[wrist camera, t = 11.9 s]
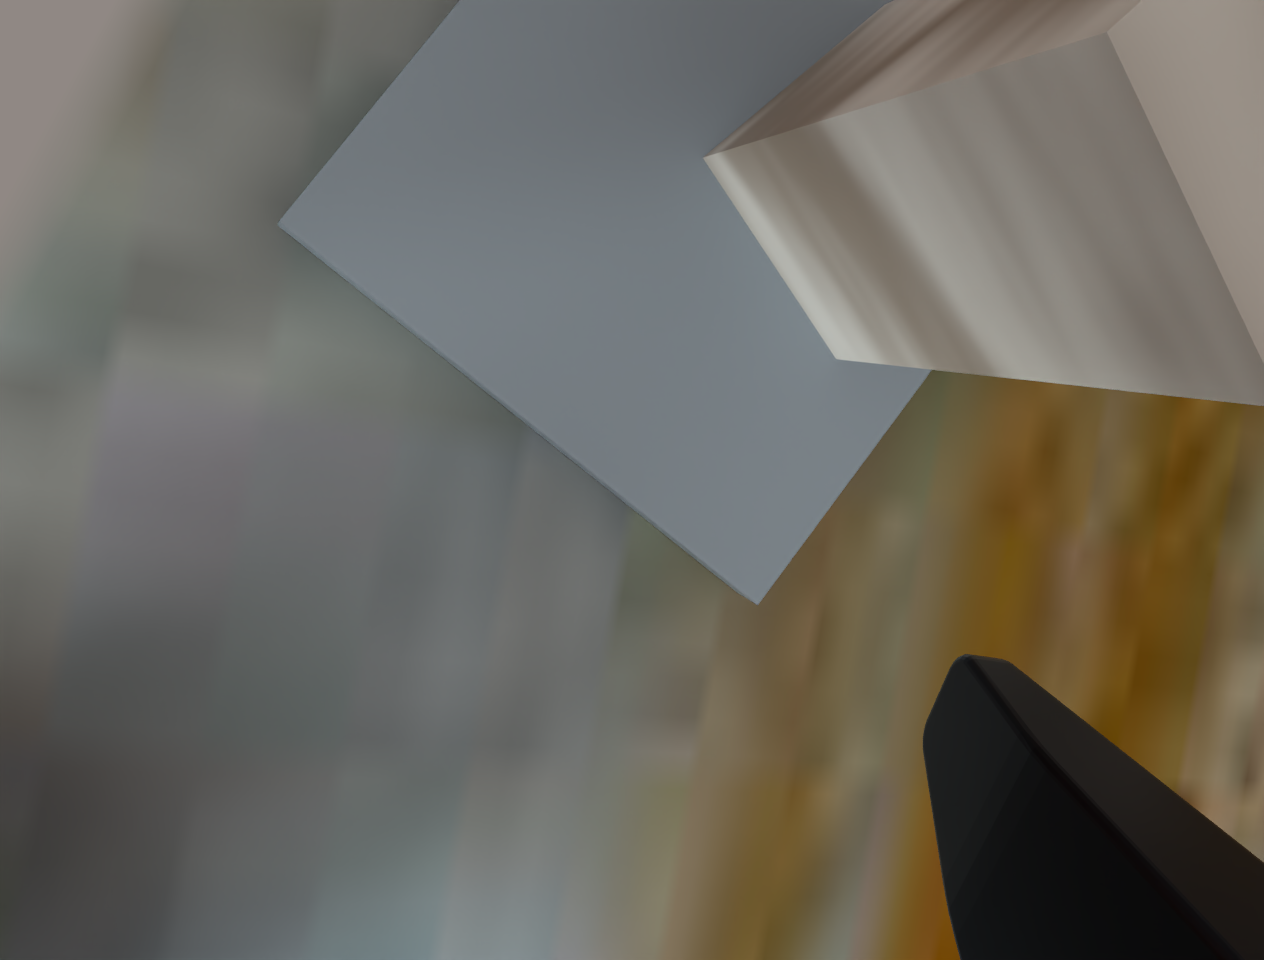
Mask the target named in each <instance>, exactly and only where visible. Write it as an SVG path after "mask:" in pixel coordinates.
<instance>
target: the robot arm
mask: <svg viewBox="0 0 1264 960" xmlns="http://www.w3.org/2000/svg"><path fill="white" fill-rule="evenodd" d="M923 753H924V760H925V766H926V773H927V780H928V786H929V793H930V799H931V806H932V812H933V819H934V826H935V832H936V839H937V845H938V852H939V859H940V865H941V872H942V878H943V885H944V890H945V896H946V901H947V906H948V912H949V916H950V920H951V924H952V928H953V932H954V937H955V940H956V944H957V948H958V952H959V956H960V959H961V960H1264V862H1262V861H1261V860H1260V859H1259V858H1257V857H1256V856H1255V855H1253V854H1252V853H1251V852H1250V851H1248V850H1247V849H1246V848H1245V847H1243V846H1242V845H1241V844H1240V843H1238V842H1237V841H1236V840H1234V839H1233V838H1232V837H1231V836H1229V835H1228V834H1227V833H1226V832H1224V831H1223V830H1222V829H1221V828H1219V827H1218V826H1217V825H1215V824H1214V823H1213V822H1212V821H1210V820H1209V819H1208V818H1207V817H1205V816H1204V815H1203V814H1202V813H1200V812H1199V811H1198V810H1196V809H1195V808H1194V807H1193V806H1191V805H1190V804H1189V803H1188V802H1186V801H1185V800H1184V799H1183V798H1181V797H1180V796H1179V795H1177V794H1176V793H1175V792H1174V791H1172V790H1171V789H1170V788H1169V787H1167V786H1166V785H1165V784H1164V783H1162V782H1161V781H1160V780H1158V779H1157V778H1156V777H1155V776H1153V775H1152V774H1151V773H1150V772H1148V771H1147V770H1146V769H1145V768H1143V767H1142V766H1141V765H1139V764H1138V763H1137V762H1136V761H1134V760H1133V759H1132V758H1131V757H1129V756H1128V755H1127V754H1126V753H1124V752H1123V751H1122V750H1120V749H1119V748H1118V747H1117V746H1115V745H1114V744H1113V743H1112V742H1110V741H1109V740H1108V739H1107V738H1105V737H1104V736H1103V735H1102V734H1100V733H1099V732H1098V731H1096V730H1095V729H1094V728H1093V727H1091V726H1090V725H1089V724H1088V723H1086V722H1085V721H1084V720H1083V719H1081V718H1080V717H1079V716H1077V715H1076V714H1075V713H1074V712H1072V711H1071V710H1070V709H1069V708H1067V707H1066V706H1065V705H1064V704H1062V703H1061V702H1060V701H1058V700H1057V699H1056V698H1055V697H1053V696H1052V695H1051V694H1050V693H1048V692H1047V691H1046V690H1045V689H1043V688H1042V687H1041V686H1039V685H1038V684H1037V683H1036V682H1034V681H1033V680H1032V679H1031V678H1029V677H1028V676H1027V675H1026V674H1024V673H1023V672H1022V671H1021V670H1019V669H1018V668H1017V667H1015V666H1014V665H1013V664H1012V663H1010V662H1009V661H1006V660H1003V659H998V658H991V657H984V656H977V655H970V654H965V655H962V656H960V657H958V658H957V659H956V660H955V661H954V662H953V664H952V666H951V667H950V669H949V672H948V674H947V676H946V678H945V681H944V683H943V685H942V687H941V690H940V692H939V694H938V696H937V699H936V701H935V703H934V705H933V708H932V710H931V712H930V714H929V717H928V719H927V722H926V724H925V729H924V734H923Z"/></svg>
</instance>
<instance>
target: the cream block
mask: <svg viewBox="0 0 1264 960" xmlns="http://www.w3.org/2000/svg"><path fill="white" fill-rule="evenodd" d="M703 159H704V161H705V162H706V164H707V165H708V167H709V168H710V170H711V171H712V173H713V174H714V176H715V177H716V179H717V180H718V182H719V183H720V185H721V186H722V188H723V189H724V191H725V192H726V194H727V195H728V197H729V198H730V200H731V201H732V203H733V204H734V206H735V207H736V209H737V210H738V212H739V213H740V215H741V216H742V218H743V219H744V221H745V222H746V224H747V225H748V227H749V228H750V230H751V231H752V233H753V234H754V236H755V237H756V239H757V240H758V242H759V244H760V245H761V247H762V248H763V250H764V251H765V253H766V254H767V256H768V257H769V259H770V260H771V262H772V263H773V265H774V266H775V268H776V269H777V271H778V272H779V274H780V275H781V277H782V278H783V280H784V281H785V283H786V284H787V286H788V287H789V289H790V290H791V292H792V293H793V295H794V296H795V298H796V299H797V301H798V302H799V304H800V305H801V307H802V308H803V310H804V311H805V313H806V314H807V316H808V317H809V319H810V320H811V322H812V323H813V325H814V327H815V328H816V330H817V331H818V333H819V334H820V336H821V337H822V339H823V340H824V342H825V343H826V345H827V346H828V348H829V349H830V351H831V352H832V354H833V355H834V357H835V358H836V359H839V360H848V361H857V362H866V363H875V364H884V365H894V366H903V367H912V368H921V369H930V370H939V371H949V372H958V373H967V374H976V375H985V376H994V377H1004V378H1013V379H1022V380H1031V381H1040V382H1049V383H1059V384H1068V385H1077V386H1086V387H1095V388H1104V389H1114V390H1123V391H1132V392H1141V393H1150V394H1159V395H1169V396H1178V397H1187V398H1196V399H1205V400H1214V401H1224V402H1233V403H1242V404H1251V405H1260V406H1264V0H894V1H892V2H889V3H887V4H885V5H884V6H882V7H881V8H880V9H879V10H878V11H876V12H875V13H874V14H873V15H872V16H870V17H869V18H868V19H867V20H866V21H865V22H863V23H862V24H861V25H860V26H859V27H857V28H856V29H855V30H854V31H853V32H851V33H850V34H849V35H848V36H847V37H846V38H844V39H843V40H842V41H841V42H840V43H838V44H837V45H836V46H835V47H834V48H832V49H831V50H830V51H829V52H828V53H827V54H825V55H824V56H823V57H822V58H821V59H819V60H818V61H817V62H816V63H815V64H813V65H812V66H811V67H810V68H809V69H808V70H806V71H805V72H804V73H803V74H802V75H800V76H799V77H798V78H797V79H796V80H794V81H793V82H792V83H791V84H790V85H789V86H787V87H786V88H785V89H784V90H783V91H781V92H780V93H779V94H778V95H777V96H775V97H774V98H773V99H772V100H771V101H769V102H768V103H767V104H766V105H765V106H764V107H762V108H761V109H760V110H759V111H758V112H756V113H755V114H754V115H753V116H752V117H750V118H749V119H748V120H747V121H746V122H745V123H743V124H742V125H741V126H740V127H739V128H737V129H736V130H735V131H734V132H733V133H731V134H730V135H729V136H728V137H727V138H726V139H724V140H723V141H722V142H721V143H720V144H718V145H717V146H716V147H715V148H714V149H712V150H711V151H710V152H709V153H708V154H707V155H705V156H704V157H703Z"/></svg>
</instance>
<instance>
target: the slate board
mask: <svg viewBox="0 0 1264 960" xmlns="http://www.w3.org/2000/svg"><path fill="white" fill-rule="evenodd" d="M892 1H894V0H459V2H458V3H457V4H456V5H455V6H454V8H453V9H452V10H451V11H450V13H449V14H448V15H447V16H446V17H445V19H444V20H443V21H442V22H441V24H440V25H439V26H438V27H437V28H436V30H435V31H434V32H433V33H432V35H431V36H430V37H429V38H428V39H427V41H426V42H425V43H424V44H423V46H422V47H421V48H420V49H419V50H418V52H417V53H416V54H415V55H414V57H413V58H412V59H411V60H410V61H409V63H408V64H407V65H406V66H405V68H404V69H403V70H402V71H401V72H400V74H399V75H398V76H397V77H396V79H395V80H394V81H393V82H392V83H391V85H390V86H389V87H388V88H387V90H386V91H385V92H384V93H383V94H382V96H381V97H380V98H379V99H378V101H377V102H376V103H375V104H374V105H373V107H372V108H371V109H370V110H369V112H368V113H367V114H366V115H365V116H364V118H363V119H362V120H361V121H360V123H359V124H358V125H357V126H356V127H355V129H354V130H353V131H352V132H351V134H350V135H349V136H348V137H347V138H346V140H345V141H344V142H343V143H342V145H341V146H340V147H339V148H338V149H337V151H336V152H335V153H334V154H333V156H332V157H331V158H330V159H329V161H328V162H327V163H326V164H325V165H324V167H323V168H322V169H321V170H320V172H319V173H318V174H317V175H316V176H315V178H314V179H313V180H312V181H311V183H310V184H309V185H308V186H307V187H306V189H305V190H304V191H303V192H302V194H301V195H300V196H299V197H298V198H297V200H296V201H295V202H294V203H293V205H292V206H291V207H290V208H289V209H288V211H287V212H286V213H285V214H284V216H283V217H282V218H281V219H280V220H279V222H278V226H279V227H280V228H282V229H283V230H284V231H285V232H287V233H288V234H289V235H290V236H292V237H293V238H294V239H295V240H297V241H298V242H299V243H300V244H302V245H303V246H304V247H305V248H307V249H308V250H309V251H310V252H312V253H313V254H314V255H315V256H317V257H318V258H319V259H320V260H322V261H323V262H324V263H325V264H327V265H328V266H329V267H330V268H332V269H333V270H334V271H335V272H337V273H338V274H339V275H340V276H342V277H343V278H344V279H345V280H347V281H348V282H349V283H350V284H352V285H353V286H354V287H355V288H357V289H358V290H359V291H360V292H362V293H363V294H364V295H365V296H367V297H368V298H369V299H370V300H372V301H373V302H374V303H375V304H377V305H378V306H379V307H380V308H382V309H383V310H384V311H386V312H387V313H388V314H389V315H391V316H392V317H393V318H394V319H396V320H397V321H398V322H399V323H401V324H402V325H403V326H404V327H406V328H407V329H408V330H409V331H411V332H412V333H413V334H414V335H416V336H417V337H418V338H419V339H421V340H422V341H423V342H424V343H426V344H427V345H428V346H429V347H431V348H432V349H433V350H434V351H436V352H437V353H438V354H439V355H441V356H442V357H443V358H444V359H446V360H447V361H448V362H449V363H451V364H452V365H453V366H454V367H456V368H457V369H458V370H459V371H461V372H462V373H463V374H464V375H466V376H467V377H468V378H469V379H471V380H472V381H473V382H474V383H476V384H477V385H478V386H479V387H481V388H482V389H483V390H484V391H486V392H487V393H488V394H489V395H491V396H492V397H493V398H494V399H496V400H497V401H498V402H499V403H501V404H502V405H503V406H504V407H506V408H507V409H508V410H509V411H511V412H512V413H513V414H514V415H516V416H517V417H518V418H519V419H521V420H522V421H523V422H524V423H526V424H527V425H528V426H529V427H531V428H532V429H533V430H534V431H536V432H537V433H538V434H539V435H541V436H542V437H543V438H544V439H546V440H547V441H548V442H549V443H551V444H552V445H553V446H554V447H556V448H557V449H558V450H559V451H561V452H562V453H563V454H564V455H566V456H567V457H568V458H569V459H571V460H572V461H573V462H574V463H576V464H577V465H578V466H579V467H581V468H582V469H583V470H584V471H586V472H587V473H588V474H589V475H591V476H592V477H593V478H594V479H596V480H597V481H598V482H599V483H601V484H602V485H603V486H604V487H606V488H607V489H608V490H609V491H611V492H612V493H613V494H614V495H616V496H617V497H618V498H619V499H621V500H622V501H623V502H625V503H626V504H627V505H628V506H630V507H631V508H632V509H633V510H635V511H636V512H637V513H638V514H640V515H641V516H642V517H643V518H645V519H646V520H647V521H648V522H650V523H651V524H652V525H653V526H655V527H656V528H657V529H658V530H660V531H661V532H662V533H663V534H665V535H666V536H667V537H668V538H670V539H671V540H672V541H673V542H675V543H676V544H677V545H678V546H680V547H681V548H682V549H683V550H685V551H686V552H687V553H688V554H690V555H691V556H692V557H693V558H695V559H696V560H697V561H698V562H700V563H701V564H702V565H703V566H705V567H706V568H707V569H708V570H710V571H711V572H712V573H713V574H715V575H716V576H717V577H718V578H720V579H721V580H722V581H723V582H725V583H726V584H727V585H728V586H730V587H731V588H732V589H733V590H735V591H736V592H737V593H739V594H740V595H742V596H744V597H745V598H747V599H748V600H750V601H752V602H753V603H755V604H757V605H758V604H759V603H760V601H761V600H762V599H763V597H764V596H765V595H766V593H767V592H768V590H769V589H770V588H771V586H772V585H773V584H774V582H775V581H776V580H777V578H778V577H779V576H780V574H781V573H782V572H783V570H784V569H785V568H786V566H787V565H788V563H789V562H790V561H791V559H792V558H793V557H794V555H795V554H796V553H797V551H798V550H799V549H800V547H801V546H802V545H803V543H804V542H805V541H806V539H807V538H808V536H809V535H810V534H811V532H812V531H813V530H814V528H815V527H816V526H817V524H818V523H819V522H820V520H821V519H822V518H823V516H824V515H825V513H826V512H827V511H828V509H829V508H830V507H831V505H832V504H833V503H834V501H835V500H836V499H837V497H838V496H839V495H840V493H841V492H842V491H843V489H844V488H845V486H846V485H847V484H848V482H849V481H850V480H851V478H852V477H853V476H854V474H855V473H856V472H857V470H858V469H859V468H860V466H861V465H862V464H863V462H864V461H865V459H866V458H867V457H868V455H869V454H870V453H871V451H872V450H873V449H874V447H875V446H876V445H877V443H878V442H879V441H880V439H881V438H882V436H883V435H884V434H885V432H886V431H887V430H888V428H889V427H890V426H891V424H892V423H893V422H894V420H895V419H896V418H897V416H898V415H899V414H900V412H901V411H902V409H903V408H904V407H905V405H906V404H907V403H908V401H909V400H910V399H911V397H912V396H913V395H914V393H915V392H916V391H917V389H918V388H919V387H920V385H921V384H922V382H923V381H924V380H925V378H926V377H927V376H928V374H929V373H930V372H931V370H930V369H921V368H912V367H903V366H894V365H884V364H875V363H866V362H857V361H848V360H839V359H836V358H835V357H834V355H833V354H832V352H831V351H830V349H829V348H828V346H827V345H826V343H825V342H824V340H823V339H822V337H821V336H820V334H819V333H818V331H817V330H816V328H815V327H814V325H813V323H812V322H811V320H810V319H809V317H808V316H807V314H806V313H805V311H804V310H803V308H802V307H801V305H800V304H799V302H798V301H797V299H796V298H795V296H794V295H793V293H792V292H791V290H790V289H789V287H788V286H787V284H786V283H785V281H784V280H783V278H782V277H781V275H780V274H779V272H778V271H777V269H776V268H775V266H774V265H773V263H772V262H771V260H770V259H769V257H768V256H767V254H766V253H765V251H764V250H763V248H762V247H761V245H760V244H759V242H758V240H757V239H756V237H755V236H754V234H753V233H752V231H751V230H750V228H749V227H748V225H747V224H746V222H745V221H744V219H743V218H742V216H741V215H740V213H739V212H738V210H737V209H736V207H735V206H734V204H733V203H732V201H731V200H730V198H729V197H728V195H727V194H726V192H725V191H724V189H723V188H722V186H721V185H720V183H719V182H718V180H717V179H716V177H715V176H714V174H713V173H712V171H711V170H710V168H709V167H708V165H707V164H706V162H705V161H704V159H703V157H704V156H705V155H707V154H708V153H709V152H710V151H711V150H712V149H714V148H715V147H716V146H717V145H718V144H720V143H721V142H722V141H723V140H724V139H726V138H727V137H728V136H729V135H730V134H731V133H733V132H734V131H735V130H736V129H737V128H739V127H740V126H741V125H742V124H743V123H745V122H746V121H747V120H748V119H749V118H750V117H752V116H753V115H754V114H755V113H756V112H758V111H759V110H760V109H761V108H762V107H764V106H765V105H766V104H767V103H768V102H769V101H771V100H772V99H773V98H774V97H775V96H777V95H778V94H779V93H780V92H781V91H783V90H784V89H785V88H786V87H787V86H789V85H790V84H791V83H792V82H793V81H794V80H796V79H797V78H798V77H799V76H800V75H802V74H803V73H804V72H805V71H806V70H808V69H809V68H810V67H811V66H812V65H813V64H815V63H816V62H817V61H818V60H819V59H821V58H822V57H823V56H824V55H825V54H827V53H828V52H829V51H830V50H831V49H832V48H834V47H835V46H836V45H837V44H838V43H840V42H841V41H842V40H843V39H844V38H846V37H847V36H848V35H849V34H850V33H851V32H853V31H854V30H855V29H856V28H857V27H859V26H860V25H861V24H862V23H863V22H865V21H866V20H867V19H868V18H869V17H870V16H872V15H873V14H874V13H875V12H876V11H878V10H879V9H880V8H881V7H882V6H884V5H885V4H887V3H889V2H892Z"/></svg>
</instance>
